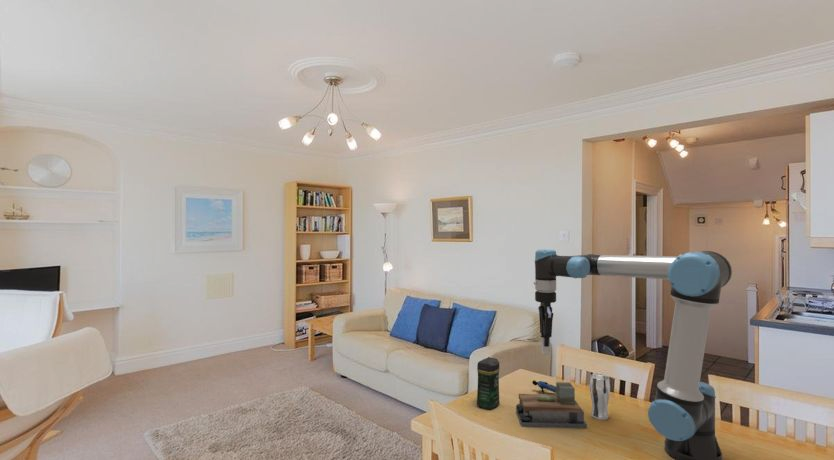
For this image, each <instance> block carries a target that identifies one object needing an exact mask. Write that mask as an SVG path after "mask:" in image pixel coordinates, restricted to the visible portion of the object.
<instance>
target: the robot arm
mask: <svg viewBox="0 0 834 460" xmlns="http://www.w3.org/2000/svg"><path fill="white" fill-rule="evenodd" d="M534 270H535V271H534V274H535V275H534V276H535V277H534V278H535V279H534V282H533V285H534V286H535V287H534V289H535V291H534V300H535V301H536V302H537V303H540V304H539V306H538V314H539V317H538V318H539V333H540V338H541V355H542V356H550V355H551V338H552V337H553V335H552V333H553V319H554V318H553V317H554V312H553V307H552V304H551V303H554V304H555V303H556V301H557V292H556V291H557V277H565V278H573V279H585V278H587V276H603V277H604V276H606V277H623V278H636V279H639V278H640V279H652V280H653V279H655V280H668V282H669V283H670V285H671V287H670V295H669V296H670V297H671V298H672V299H673V301H674V310H673V316H672V324H671V330H670V336H669V337H670V338H669V345H668V349H667V350H668V351H667V358H666V365H665V371H664V377H663V379H662V380H661V381H659V382H657V385H656V393H655V399H654V400H653V401H652V402H651V403H650V405H649V407H648V409H647V416H648V419H649V422H650V424H651V426H652V427H653V428H654V430H655V431H656V432H658V433H659V434H660V436H662V437H664V438H665V439H664V451H665V452H666V454H667V453H668V454H667V455H668V456H670V455H671V456H672V457H671V456H670V457H671V458H673V457H674V458H676V459H678V460H723V453H722V449H721V448H720V444H719V442H718V438H717V437H716V398H717V396H716V391H715V388H714V387H713V386H712V385H711V384H709V383H706V382H703V381H701V377H702V370H703V363H704V357H705V350H706V343H707V337H708V330H709V324H710V318H711V317H710V316H711V311H712V309H713V308H715V307H716V306H718V305H719V303H720V297H721V291H722V288H723V287H725V286H726V285H727V284H729V281H730V280H731V278H732V274H733V270H732V265H731V264H730V261H729V260H728V259H727V258H726V256H724V255H722V254H720V253H718V252H717V251H716V252H715V251H712V250H701V251H688V252H686V253H685V252H684V253H680V254H679V255H678V256H676V255H675V256H674V255H672V256H671V255H667V256H666V255H629V254H628V255H627V254H626V255H625V254H623V255H622V254H621V255H620V254H619V255H618V254H617V255H616V254H595V253H594V254H593V253H588V254H582V255H558V254H557V251H556V250H555V249H545V248H544V249H537V250H536V251H535V256H534ZM674 458H673V459H674ZM676 459H675V460H676Z"/></svg>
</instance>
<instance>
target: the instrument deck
mask: <svg viewBox="0 0 834 460" xmlns="http://www.w3.org/2000/svg"><path fill="white" fill-rule="evenodd" d="M555 384H556V385H555V386H556V393H555V394H545V393H544V394H545V395H544V394H543V393H542V394H541V393H540V394H539V393H537V394H536V393H518V399H519V403H520V402H521V404H522V406H523V409H524V411H543V412H573V413H581V409H582V408H581V406H580V405H579V403H578V402H577V401H576V399H575V397H576V394H575V390H576V389H575V387H574V386H573V385H572V383H571V382H565V381H555Z"/></svg>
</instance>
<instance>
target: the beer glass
mask: <svg viewBox="0 0 834 460" xmlns="http://www.w3.org/2000/svg"><path fill="white" fill-rule="evenodd" d="M589 392H590V393H589V394H590V399H591V405H592V407H591V408H592V409H591V412H590V414H591V417H592V418H594V419H596V420H599V421H606V420H609V418H610V417H609V411H608V408H609V407H608V405H609V401H610V394H611V385H610V377H609V376H607V375H606V374H599V373H593V374H591V375H590V380H589Z"/></svg>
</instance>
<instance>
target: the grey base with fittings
mask: <svg viewBox="0 0 834 460" xmlns="http://www.w3.org/2000/svg"><path fill="white" fill-rule="evenodd" d="M515 407H516V408H515V413H516V416H517V419H518V421H519V424H520V426H521V427H526V428H529V427H532V428H556V429H557V428H559V429H560V428H561V429H588V424H587V421H585V411H584V410H583V409H582V408H581V413H573V412H543V411H524V409H523V406H522V404H521V402H520V401H519V403H518V404H516V406H515Z"/></svg>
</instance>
